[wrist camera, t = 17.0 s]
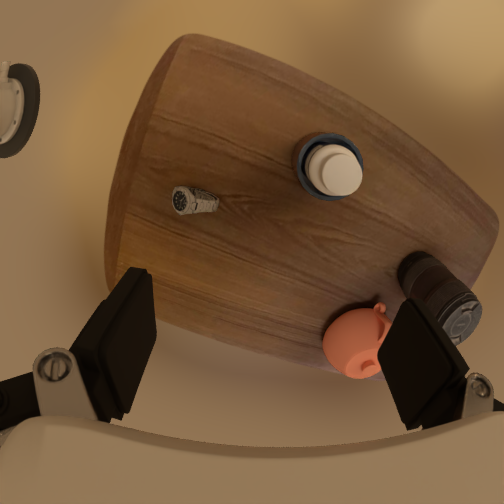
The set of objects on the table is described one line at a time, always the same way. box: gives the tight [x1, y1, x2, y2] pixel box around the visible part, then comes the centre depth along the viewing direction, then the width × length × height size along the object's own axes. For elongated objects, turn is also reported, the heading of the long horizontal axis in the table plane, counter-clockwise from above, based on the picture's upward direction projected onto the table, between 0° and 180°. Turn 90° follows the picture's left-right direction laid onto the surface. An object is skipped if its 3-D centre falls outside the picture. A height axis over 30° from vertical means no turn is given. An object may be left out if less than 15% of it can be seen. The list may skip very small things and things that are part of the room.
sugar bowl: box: [322, 302, 392, 379], centre depth 40 cm, size 12×14×10 cm
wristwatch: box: [172, 186, 219, 215], centre depth 34 cm, size 4×6×5 cm, turn 73°
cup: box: [292, 132, 363, 201], centre depth 31 cm, size 8×8×6 cm
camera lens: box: [398, 252, 482, 346], centre depth 33 cm, size 8×8×15 cm
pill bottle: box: [301, 142, 362, 196], centre depth 28 cm, size 5×5×10 cm
